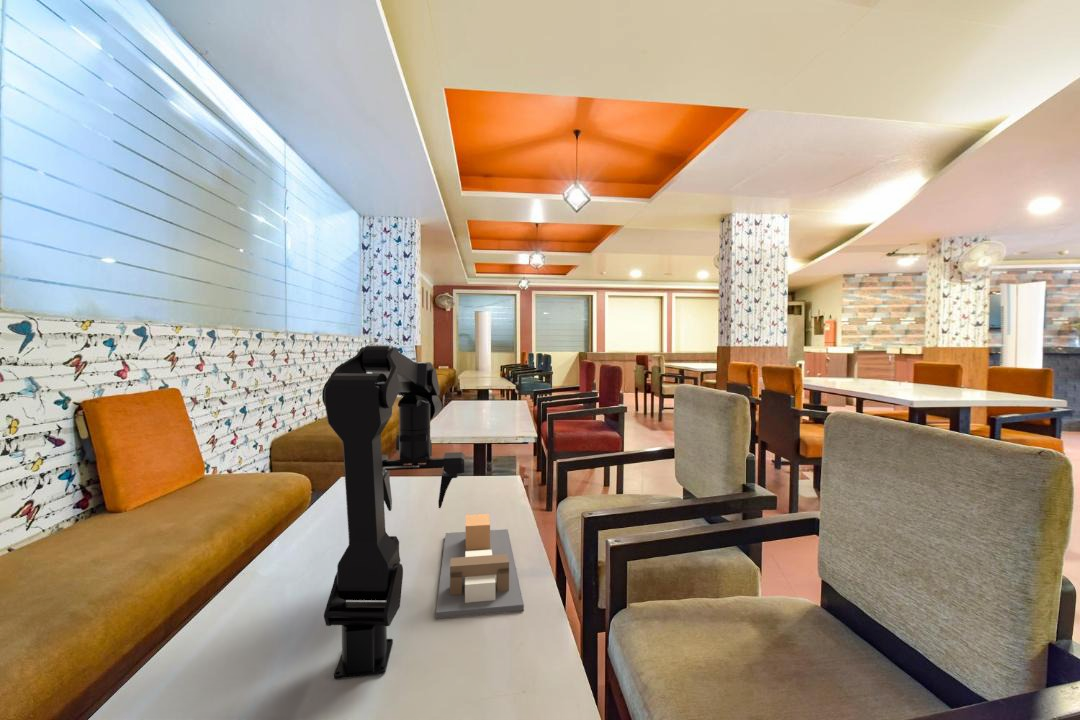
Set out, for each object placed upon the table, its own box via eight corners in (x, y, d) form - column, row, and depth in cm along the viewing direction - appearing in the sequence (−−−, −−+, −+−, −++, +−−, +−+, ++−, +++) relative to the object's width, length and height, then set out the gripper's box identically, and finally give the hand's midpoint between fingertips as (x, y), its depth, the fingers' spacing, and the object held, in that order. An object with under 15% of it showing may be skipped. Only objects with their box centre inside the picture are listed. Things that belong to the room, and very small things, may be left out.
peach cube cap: (490, 548, 92) (490, 524, 92) (465, 550, 91) (465, 526, 91) (488, 536, 98) (488, 513, 98) (465, 537, 97) (465, 515, 97)
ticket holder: (523, 610, 72) (523, 574, 72) (436, 618, 70) (435, 581, 70) (507, 533, 102) (507, 507, 102) (445, 537, 100) (445, 511, 100)
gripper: (464, 419, 94) (464, 492, 94) (372, 421, 91) (373, 497, 91) (464, 429, 83) (464, 512, 83) (359, 432, 80) (360, 517, 80)
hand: (415, 508), depth 85 cm, fingers open, 9 cm apart
